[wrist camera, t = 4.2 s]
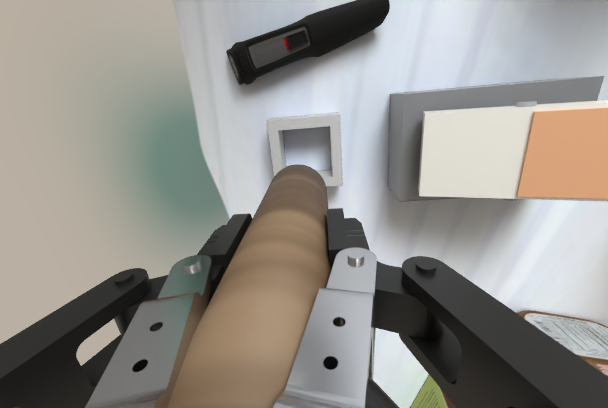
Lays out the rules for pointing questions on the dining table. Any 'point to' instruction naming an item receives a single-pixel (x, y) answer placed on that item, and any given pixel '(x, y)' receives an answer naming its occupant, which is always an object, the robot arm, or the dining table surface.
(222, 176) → the dining table surface
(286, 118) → the holder
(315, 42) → the electric trimmer
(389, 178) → the switch box
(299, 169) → the wooden peg
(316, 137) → the dining table surface
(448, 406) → the protein box
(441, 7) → the dining table surface
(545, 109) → the rocker switch
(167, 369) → the robot arm
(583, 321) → the tin
